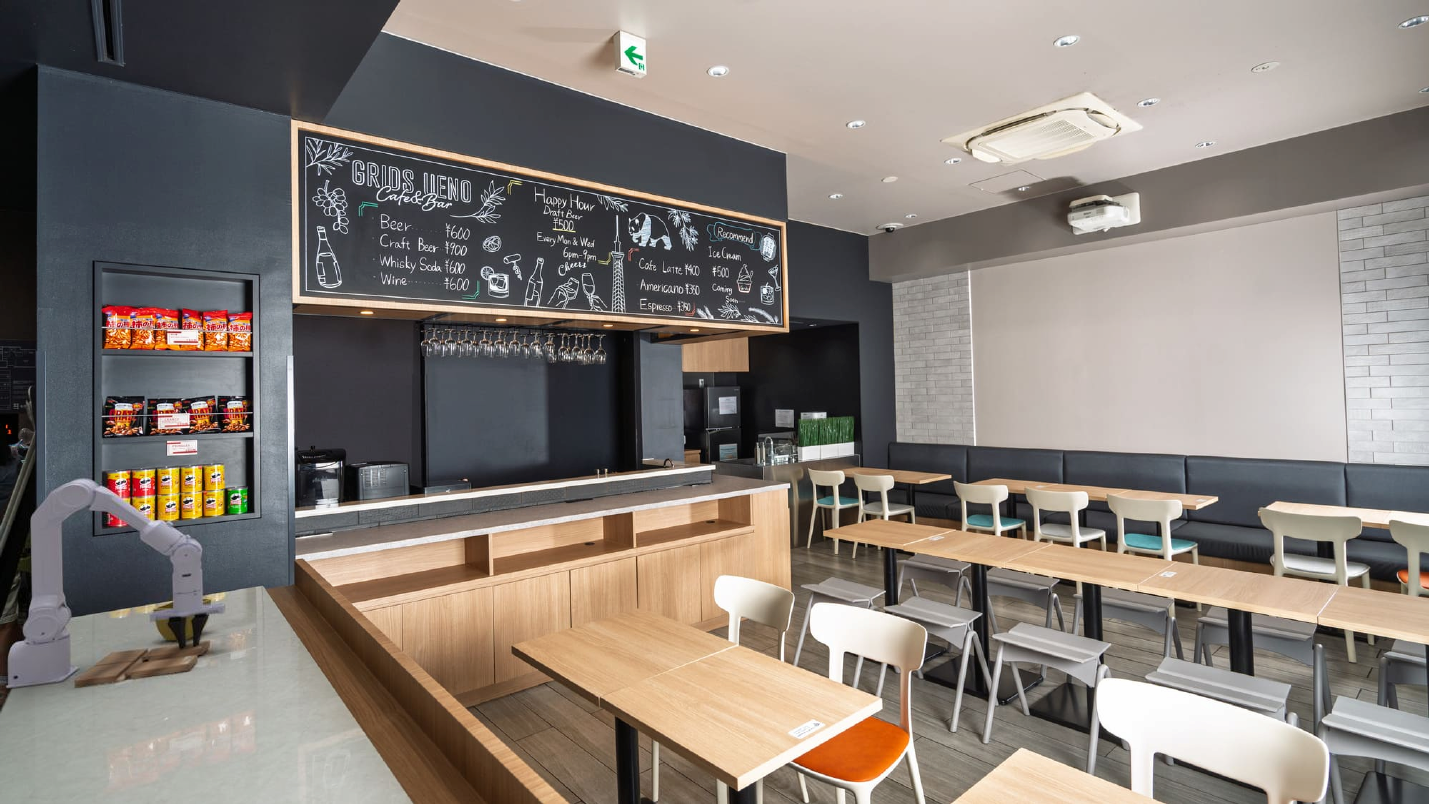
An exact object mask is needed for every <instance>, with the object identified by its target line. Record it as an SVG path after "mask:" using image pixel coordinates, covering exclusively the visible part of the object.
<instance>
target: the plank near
mask: <svg viewBox="0 0 1429 804" xmlns="http://www.w3.org/2000/svg"><path fill="white" fill-rule="evenodd" d="M197 662H198V655H194V656H186V657H179V658H172V659H164V660H157V661H150V662H148V661H145V662H143V663H135V664H134V665H133V666H132V667H130V668H129V669H128V670H127V671H126V672H125V673H124V676H126V675H130V679H131V680H132V679H133V678H134V679H141V678H147V677H146V676H148V677H152V676H153V677H154V675H155V676H159V675H158V674H162V675H168V674H167V673H169V674H175V672H176V673H181V671H183V672H188V671H191V669H192V668H193V667H194V666H195V665H196V663H197ZM194 664H195V665H194ZM179 671H180V672H179ZM140 677H141V678H140Z"/></svg>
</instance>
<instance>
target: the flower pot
mask: <svg viewBox="0 0 1429 804" xmlns="http://www.w3.org/2000/svg"><path fill="white" fill-rule="evenodd" d="M211 602H212V598H203V605H212V603H211ZM168 609H173V601H170V602H168V603H166V604H163V605H160V606H157V607H155V608H153V609H152V610H153V612H155V611H162V610H168ZM194 617H195V616H191V617H186V626H185V635H186V641H187V640H190V639H193V628H192V623H191V620H192V619H193V618H194ZM208 620H209V618H208V619H207V621H206V623H205V625H204V628H205V626H206V625H207V623H208V622H209V621H208ZM168 622H169V619H165V620H157V621H155V625H156V627H157V628H156V629H157V631H158V632H159V634H160V635H161V636H162V638H164V640H165V641H170V640H171V641H177V639H176V637H175V635H174V633H173V632H172V630H171V629H170V628H169V627H168V625H167V623H168Z"/></svg>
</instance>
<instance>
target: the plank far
mask: <svg viewBox="0 0 1429 804" xmlns="http://www.w3.org/2000/svg"><path fill="white" fill-rule="evenodd" d="M210 647H211V640H210V639H209V640H202V641H200V642H199V645H198V646H196V647H193V642H190V643H186V646H185V647H184V648H183V649H180V648H179V644H177V645H176V644H175V645H170V646H169V645H168V646H163V647H156V648H151V649H150V650H148V652H147V653H146V654H145V655H144V656H143V657H142V660H145V659H147V662H150V661H157V660H164V659H172V658H179V657H186V656H194V655H197V656H200V655H204V653H205V652H206V651H208V649H209V648H210Z"/></svg>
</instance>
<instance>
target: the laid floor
mask: <svg viewBox="0 0 1429 804" xmlns="http://www.w3.org/2000/svg"><path fill="white" fill-rule="evenodd" d="M147 652H149V648H148V647H146V648H140V649H139V648H138V649H132V650H131V649H130V650H121V651H115V652H110V653H109V654H108V655H106V656H105V657H104V658H103V659H100V661H98V662H97V663H95V665H93V666H92V667H91V668H89V669H88V670H87V671H86V672H84V673H83V674H82V675H80V676H79V677H78V678H77V679H75V680H74V688H75V689H76V688H78V689H79V688H84V687H92V685H93V686H99V685H98V684H100V685H107V684H106V683H108V684H113V683H112V682H116V683H120V682H119V681H123V682H124V681H125V680H126V679H127V678H129V677H130V676H129V675H126V676H124V673H125V672H126V671H127V670H128V669H129V668H130V667H132V666H133V665H134V664H135V663H143V662H144V661H145V662H147V661H148V659H145V660H142V657H143V656H144V655H145V654H146V653H147ZM128 676H129V677H128Z"/></svg>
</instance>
